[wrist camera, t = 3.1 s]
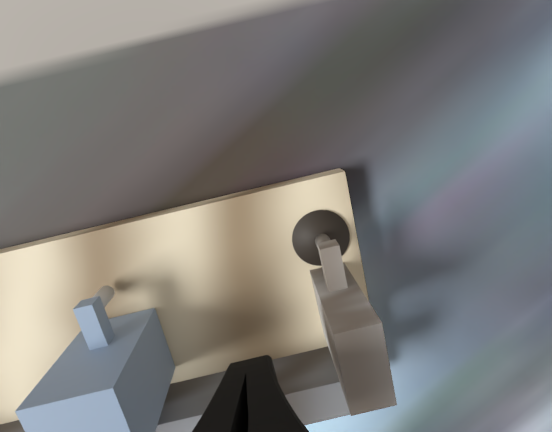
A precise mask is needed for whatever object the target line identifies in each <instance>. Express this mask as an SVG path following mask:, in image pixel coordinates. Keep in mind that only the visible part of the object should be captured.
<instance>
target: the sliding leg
mask: <svg viewBox="0 0 552 432" xmlns="http://www.w3.org/2000/svg"><path fill="white" fill-rule="evenodd" d="M114 294H115V291H114V289H113V288H112V287H111V286H107V285H106V286H103V287H101V288H100V289H99V291H98V292H97V293H96V294H95V295H94V296H93V297H92V298H89V299H84V300H81V301H80V302H79V303H78V304H77V305H76V306H75V307H74V308H73V311H74V314H75V316H76V319H77V321H78V324H79V326H80V328H81V331H80V332H79V334H78V335H77V336H76V337H75V338H74V340H73V341H72V342H71V343H70V345H69V346H68V347H67V348H66V349H65V351H64V352H63V353H62V354H61V356H60V357H59V358H58V359H57V360H56V362H55V363H54V364H53V365H52V367H51V368H50V369H49V370H48V372H47V373H46V374H45V375H44V376H43V378H42V379H41V380H40V381H39V383H38V384H37V385H36V386H35V387H34V389H33V390H32V391H31V392H30V394H29V395H28V396H27V397H26V398H25V400H24V401H23V402H22V403H21V405H20V406H19V407H18V408H17V409H16V411H15V413H16V415H17V417H18V419H19V421H20V423H21V425H22V427H23V429H24V431H25V432H155V431H156V428H157V424H158V421H159V418H160V415H161V412H162V409H163V405H164V402H165V399H166V396H167V393H168V389H169V386H170V383H171V380H172V377H173V374H174V370H175V364H174V361H173V359H172V356H171V353H170V350H169V347H168V344H167V341H166V338H165V335H164V333H163V330H162V327H161V324H160V321H159V318H158V315H157V312H156V310H155V308H152V309H147V310H143V311H139V312H135V313H131V314H127V315H122V316H118V317H114V318H110V319H108V316H107V314H106V311H105V306H106V305H107V304H108V303H109V301H110V300H111V299H112V298H113V296H114Z"/></svg>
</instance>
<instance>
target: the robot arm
mask: <svg viewBox="0 0 552 432" xmlns="http://www.w3.org/2000/svg"><path fill="white" fill-rule="evenodd" d="M192 432H309V431H308V430H307V429H306V427H305V426H304V425H303V423H302V422H301V420H300V419H299V418H298V416H297V415H296V413H295V412H294V410H293V408H292V407H291V405H290V404H289V402H288V400H287V399H286V397H285V395H284V393H283V391H282V389H281V387H280V385H279V383H278V380H277V376H276V372H275V369H274V365H273V361H272V358H271V357H270V356H269V355H264V356H259V357H255V358H251V359H247V360H243V361H238V362H234V363H230V365H229V366H228V368H227V370H226V372H225V374H224V376H223V378H222V380H221V382H220V384H219V386H218V388H217V390H216V392H215V393H214V395H213V397H212V399H211V401H210V402H209V404H208V406H207V408H206V410H205V411H204V413H203V415H202V416H201V418H200V420H199V421H198V423H197V424H196V426H195V428H194V429H193V431H192Z"/></svg>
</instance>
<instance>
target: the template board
mask: <svg viewBox="0 0 552 432" xmlns="http://www.w3.org/2000/svg"><path fill="white" fill-rule="evenodd" d="M106 285H107V286H111V287H112V288H113V289H114V291H115V294H114V296H113V298H112V299H111V300H110V301H109V303H108V304H107V305H106V306H105V311H106V314H107V316H108V319H110V318H114V317H118V316H122V315H127V314H131V313H135V312H139V311H143V310H147V309H152V308H155V310H156V312H157V315H158V318H159V321H160V324H161V327H162V330H163V333H164V335H165V338H166V341H167V344H168V347H169V350H170V353H171V356H172V359H173V361H174V364H175V370H174V374H173V377H172V380H171V383H170V386H169V389H168V393H167V396H166V399H165V402H164V405H163V409H162V412H161V415H160V418H159V421H158V424H157V428H156V431H155V432H192V431H193V429H194V428H195V426H196V424H197V423H198V421H199V420H200V418H201V416H202V415H203V413H204V411H205V410H206V408H207V406H208V404H209V402H210V401H211V399H212V397H213V395H214V393H215V392H216V390H217V388H218V386H219V384H220V382H221V380H222V378H223V376H224V374H225V372H226V370H227V368H228V366H229V365H230V363H234V362H238V361H243V360H247V359H251V358H255V357H259V356H264V355H269V356H270V357H271V358H272V361H273V365H274V369H275V372H276V376H277V380H278V383H279V385H280V387H281V389H282V391H283V393H284V395H285V397H286V399H287V400H288V402H289V404H290V405H291V407H292V408H293V410H294V412H295V413H296V415H297V416H298V418H299V419H300V420H301V422H302V423H303V425H308V424H312V423H316V422H320V421H324V420H329V419H333V418H337V417H341V416H346V415H350V414H351V416H352V415H357V414H361V413H365V412H369V411H373V410H378V409H382V408H386V407H390V406H394V405H397V403H396V398H395V392H394V386H393V381H392V375H391V370H390V364H389V358H388V353H387V347H386V342H385V336H384V330H383V325H382V322H381V320H380V319H379V317H378V315H377V314H376V312H375V311H374V309H373V308H372V306H371V304H370V303H369V298H368V293H367V288H366V282H365V277H364V271H363V266H362V261H361V255H360V250H359V244H358V239H357V234H356V228H355V223H354V217H353V212H352V207H351V201H350V196H349V190H348V185H347V180H346V174H345V171H344V170H342V169H340V168H338V169H334V170H330V171H325V172H321V173H317V174H313V175H309V176H304V177H300V178H296V179H292V180H288V181H284V182H279V183H275V184H271V185H267V186H263V187H259V188H254V189H250V190H246V191H242V192H238V193H233V194H229V195H225V196H221V197H217V198H213V199H208V200H204V201H200V202H196V203H192V204H187V205H183V206H179V207H175V208H171V209H167V210H162V211H158V212H154V213H150V214H146V215H142V216H137V217H133V218H129V219H125V220H121V221H116V222H112V223H108V224H104V225H100V226H96V227H91V228H87V229H83V230H79V231H75V232H70V233H66V234H62V235H58V236H54V237H50V238H45V239H41V240H37V241H33V242H29V243H24V244H20V245H16V246H12V247H8V248H4V249H0V432H25V431H24V429H23V427H22V425H21V423H20V421H19V419H18V417H17V415H16V413H15V411H16V409H17V408H18V407H19V406H20V405H21V403H22V402H23V401H24V400H25V398H26V397H27V396H28V395H29V394H30V392H31V391H32V390H33V389H34V387H35V386H36V385H37V384H38V383H39V381H40V380H41V379H42V378H43V376H44V375H45V374H46V373H47V372H48V370H49V369H50V368H51V367H52V365H53V364H54V363H55V362H56V360H57V359H58V358H59V357H60V356H61V354H62V353H63V352H64V351H65V349H66V348H67V347H68V346H69V345H70V343H71V342H72V341H73V340H74V338H75V337H76V336H77V335H78V334H79V332H80V331H81V328H80V326H79V324H78V321H77V319H76V316H75V314H74V311H73V308H74V307H75V306H76V305H77V304H78V303H79V302H80V301H81V300H84V299H89V298H92V297H93V296H94V295H95V294H96V293H97V292H98V291H99V289H100V288H101V287H103V286H106Z"/></svg>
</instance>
